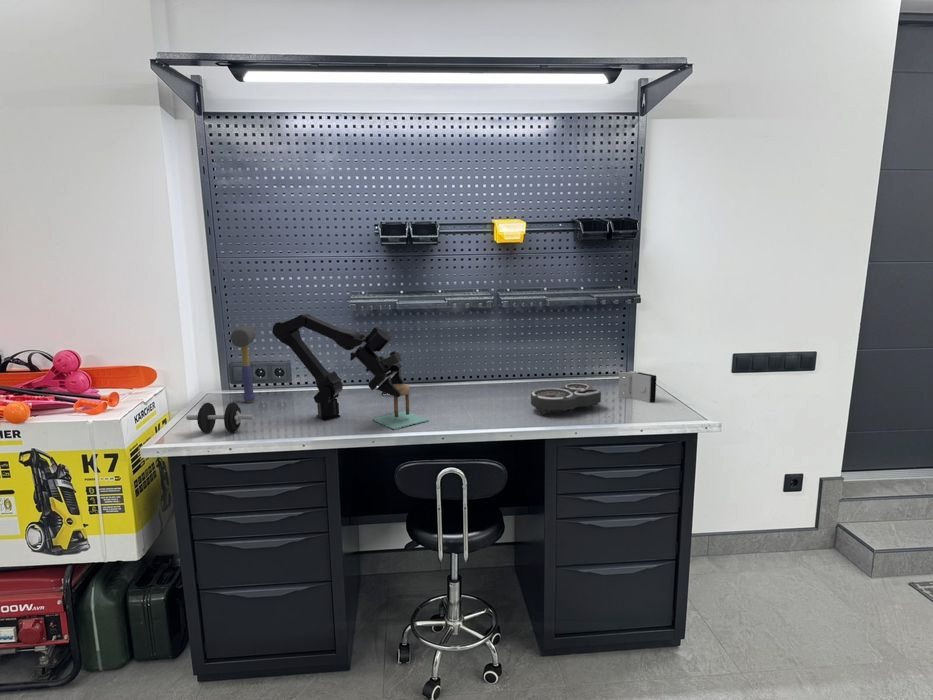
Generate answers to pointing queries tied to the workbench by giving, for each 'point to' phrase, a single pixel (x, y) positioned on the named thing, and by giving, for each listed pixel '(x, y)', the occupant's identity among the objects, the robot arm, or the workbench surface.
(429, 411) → the workbench surface
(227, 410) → the dumbbell
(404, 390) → the walnut stool
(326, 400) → the robot arm
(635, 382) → the hinge
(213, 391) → the workbench surface
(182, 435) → the workbench surface
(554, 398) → the motorcycle dashboard
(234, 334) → the rubber mallet
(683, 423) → the workbench surface
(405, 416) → the rubber mat
